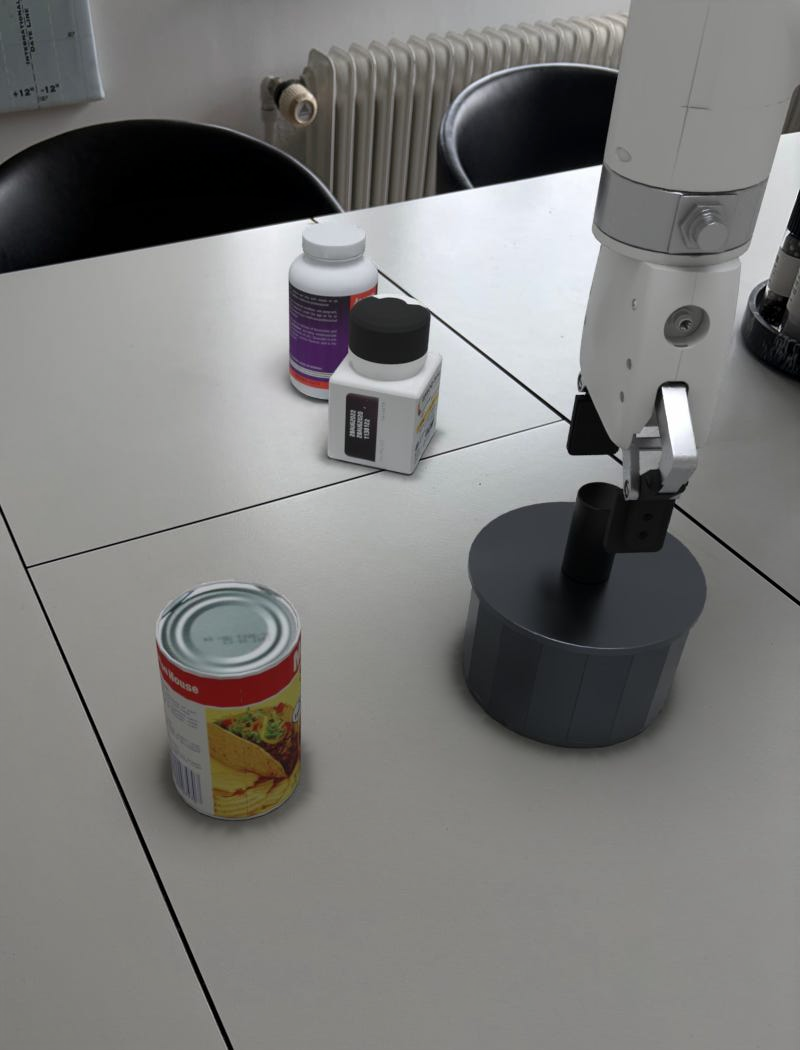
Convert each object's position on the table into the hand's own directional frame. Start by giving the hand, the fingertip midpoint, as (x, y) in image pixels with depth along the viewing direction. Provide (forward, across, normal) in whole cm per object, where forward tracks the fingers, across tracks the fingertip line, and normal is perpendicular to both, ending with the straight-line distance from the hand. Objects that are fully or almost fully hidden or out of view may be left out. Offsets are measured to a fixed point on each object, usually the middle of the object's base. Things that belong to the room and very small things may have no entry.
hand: (610, 498), depth 61 cm
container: (+14, +29, +11) cm, 34 cm away
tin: (+14, 0, +1) cm, 14 cm away
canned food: (+14, -8, +23) cm, 28 cm away
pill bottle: (+14, +40, +15) cm, 45 cm away
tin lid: (+6, 0, +1) cm, 6 cm away
